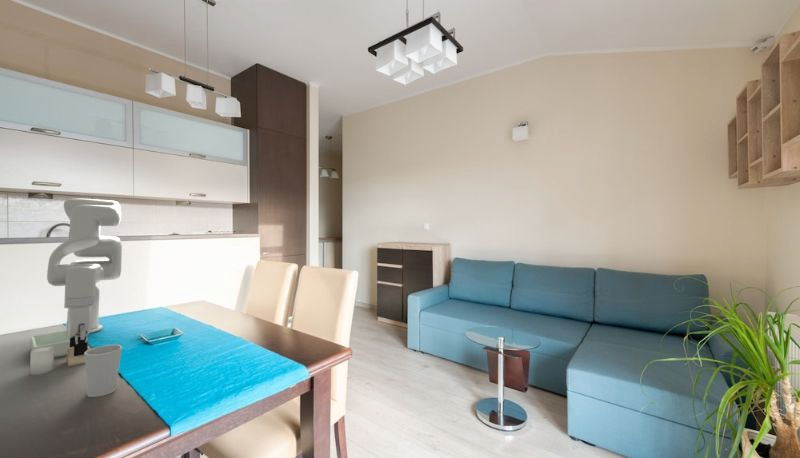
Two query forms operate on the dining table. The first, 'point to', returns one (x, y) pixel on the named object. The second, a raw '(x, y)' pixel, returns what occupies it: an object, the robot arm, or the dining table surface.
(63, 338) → the tote
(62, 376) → the dining table surface
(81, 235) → the robot arm
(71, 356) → the beech cube
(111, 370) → the cup
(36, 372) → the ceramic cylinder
